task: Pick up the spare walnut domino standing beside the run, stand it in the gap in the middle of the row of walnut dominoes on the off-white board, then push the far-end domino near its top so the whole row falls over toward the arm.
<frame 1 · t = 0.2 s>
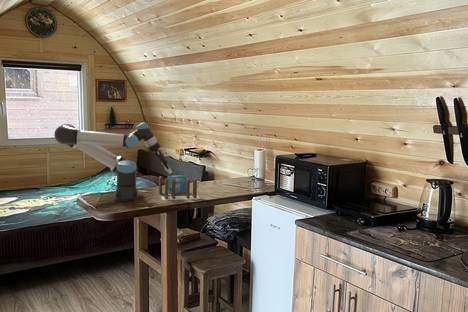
hand: (169, 171, 282), 15 cm above the table, tool tilted 30°, fingers open, 13 cm apart
domino 1: (194, 197, 270), point 1 cm above the table, touching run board
domino 5: (166, 198, 265), point 1 cm above the table, touching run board
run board: (180, 199, 268), on the table
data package: (176, 193, 285), on the table
domino 4: (173, 197, 267), point 1 cm above the table, touching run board
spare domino: (160, 194, 279), on the table
domino 2: (187, 197, 269), point 1 cm above the table, touching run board
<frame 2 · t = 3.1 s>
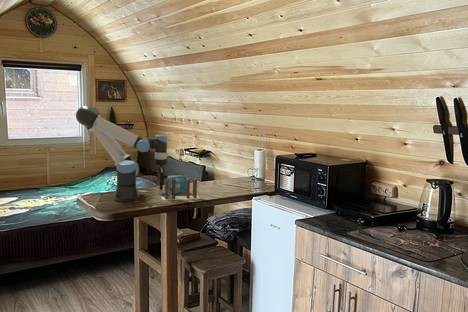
hand: (160, 193, 279), 1 cm above the table, tool pointing down, fingers closed on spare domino, 5 cm apart
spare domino: (160, 194, 279), on the table, touching gripper
everything else where it was.
when the fingers open (3 cm above the table, at t = 9.2 s): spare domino stays where it is, resting on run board.
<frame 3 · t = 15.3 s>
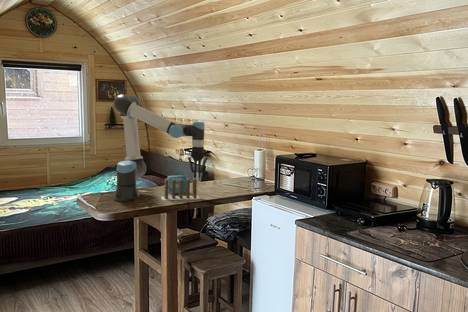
hand: (196, 183, 270), 10 cm above the table, tool pointing down, fingers closed
domino 1: (194, 197, 270), point 1 cm above the table, touching gripper, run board
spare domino: (180, 197, 268), point 1 cm above the table, touching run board
everything else where it was.
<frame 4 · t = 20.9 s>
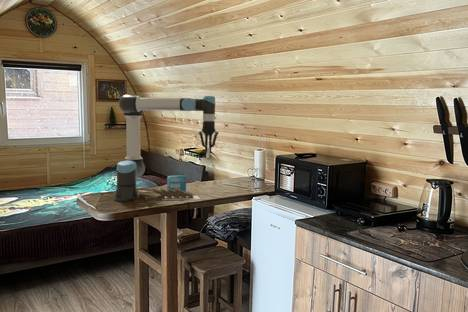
hand: (207, 157, 270), 26 cm above the table, tool pointing down, fingers closed
domino 1: (192, 196, 270), point 2 cm above the table, tilted 68°, touching domino 2, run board
domino 5: (164, 196, 265), point 2 cm above the table, tilted 95°, touching domino 4, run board
domino 4: (171, 196, 266), point 2 cm above the table, tilted 68°, touching domino 5, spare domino
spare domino: (178, 196, 267), point 2 cm above the table, tilted 68°, touching domino 2, domino 4, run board
domino 2: (185, 196, 269), point 2 cm above the table, tilted 68°, touching domino 1, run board, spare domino
everything else where it was.
at the end: domino 5 tilted 95°; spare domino tilted 68°; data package moved 0.3 cm from its start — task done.
